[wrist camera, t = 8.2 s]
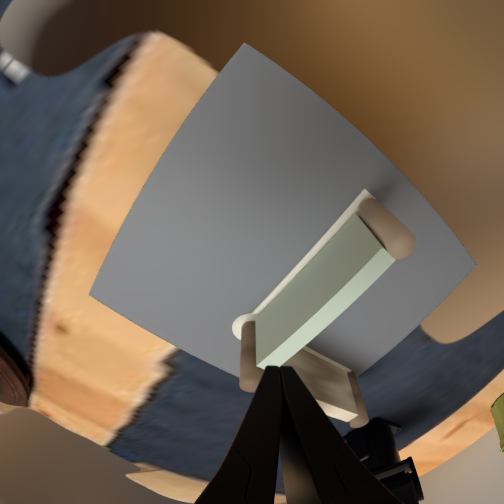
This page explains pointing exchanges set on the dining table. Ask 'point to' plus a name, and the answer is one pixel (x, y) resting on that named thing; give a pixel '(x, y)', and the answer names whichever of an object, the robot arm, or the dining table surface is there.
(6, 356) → the brown round-based upright piece
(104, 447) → the dining table surface
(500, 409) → the plant pot
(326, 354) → the card
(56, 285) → the dining table surface
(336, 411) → the fence fixed section
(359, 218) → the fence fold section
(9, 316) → the dining table surface
